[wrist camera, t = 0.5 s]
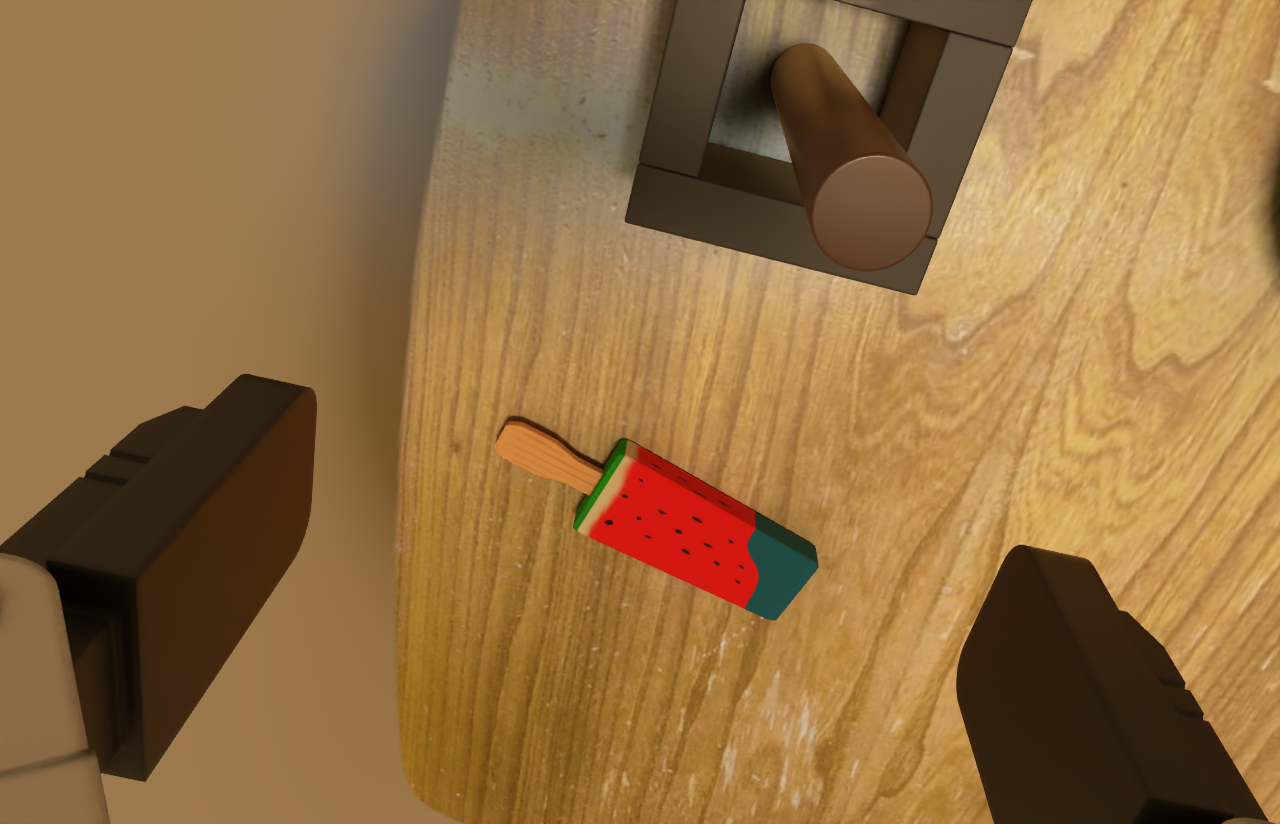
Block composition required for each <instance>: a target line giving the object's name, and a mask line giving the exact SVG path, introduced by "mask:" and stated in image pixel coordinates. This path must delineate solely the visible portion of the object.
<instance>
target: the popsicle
mask: <svg viewBox="0 0 1280 824" xmlns="http://www.w3.org/2000/svg"><path fill="white" fill-rule="evenodd" d="M495 449H496V450H497V452H498V453H499V454H500V455H501V457H503V458H504V459H505V460H507V461H509V462H511V463H513V464H515V465H517V466H519V467H521V468H523V469H525V470H527V471H529V472H531V473H533V474H535V475H537V476H541V477H545V478H548V479H552V480H556V481H560V482H563V483H565V484H567V485H569V486H571V487H573V488H575V489H577V490H579V491H581V492H583V493H585V494H587V495H586V496H585V498H584V499H583V501H582V503H581V504H580V506H579V507H578V509H577V512H576V516H575V520H574V524H573V528H574V529H575V530H576V531H578V532H579V533H581V534H583V535H585V536H587V537H590V538H592V539H594V540H596V541H598V542H601V543H603V544H605V545H607V546H609V547H611V548H614V549H616V550H618V551H620V552H622V553H624V554H627V555H629V556H631V557H633V558H635V559H637V560H640V561H642V562H644V563H646V564H648V565H651V566H653V567H655V568H657V569H659V570H661V571H664V572H666V573H668V574H670V575H672V576H674V577H677V578H679V579H681V580H683V581H685V582H687V583H690V584H692V585H694V586H696V587H698V588H700V589H703V590H705V591H707V592H709V593H711V594H714V595H716V596H718V597H720V598H722V599H724V600H727V601H729V602H731V603H733V604H735V605H737V606H740V607H742V608H744V609H746V610H748V611H750V612H753V613H755V614H757V615H759V616H761V617H763V618H766V619H769V620H777V618H778V617H779V616H780V615H781V614H782V612H783V611H784V610H785V609H786V607H787V606H788V605H789V604H790V602H791V601H792V600H793V599H794V597H795V596H796V595H797V594H798V592H799V591H800V590H801V589H802V588H803V586H804V585H805V584H806V583H807V581H808V580H809V579H810V578H811V576H812V575H813V574H814V573H815V571H816V570H817V569H818V559H817V552H816V548H815V547H814V545H812V544H811V543H809V542H808V541H806V540H804V539H802V538H801V537H799V536H797V535H795V534H794V533H792V532H790V531H788V530H787V529H785V528H783V527H781V526H780V525H778V524H776V523H774V522H773V521H771V520H769V519H767V518H765V517H764V516H762V515H760V514H758V513H757V512H755V511H753V510H751V509H750V508H748V507H746V506H744V505H743V504H741V503H739V502H737V501H736V500H734V499H732V498H730V497H728V496H727V495H725V494H723V493H721V492H720V491H718V490H716V489H714V488H713V487H711V486H709V485H707V484H706V483H704V482H702V481H700V480H699V479H697V478H695V477H693V476H692V475H690V474H688V473H686V472H684V471H683V470H681V469H679V468H677V467H676V466H674V465H672V464H670V463H669V462H667V461H665V460H663V459H662V458H660V457H658V456H656V455H655V454H653V453H651V452H649V451H647V450H646V449H644V448H642V447H640V446H639V445H637V444H635V443H633V442H631V441H629V440H626V439H622V440H621V441H620V442H619V444H618V445H617V447H616V449H615V450H614V452H613V453H612V455H611V457H610V458H609V460H608V461H607V463H606V464H605V466H604V468H603V469H600V468H598V467H596V466H594V465H592V464H590V463H588V462H586V461H584V460H583V459H581V458H579V457H577V456H576V455H575V454H573V453H572V452H571V451H570V450H569V449H567V448H566V447H565V446H564V445H563V444H562V443H560V442H559V441H558V440H557V439H555V438H553V437H551V436H549V435H547V434H545V433H543V432H541V431H539V430H537V429H535V428H533V427H531V426H529V425H528V424H526V423H523V422H515V421H509V422H507V424H506V425H505V427H504V429H503V431H502V433H501V434H500V436H499V438H498V440H497V442H496V444H495Z"/></svg>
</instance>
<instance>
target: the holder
mask: <svg viewBox="0 0 1280 824" xmlns="http://www.w3.org/2000/svg"><path fill="white" fill-rule="evenodd" d="M834 1H838V2H842V3H846V4H849V5H853V6H857V7H861V8H865V9H868V10H872V11H876V12H880V13H884V14H887V15H891V16H895V17H899V18H903V19H906V20H910V21H911V24H910V27H909V30H908V33H907V36H906V39H905V41H904V44H903V47H902V50H901V53H900V56H899V59H898V62H897V65H896V68H895V71H894V74H893V77H892V80H891V83H890V85H889V88H888V91H887V94H886V97H885V100H884V103H883V106H882V109H881V112H880V115H879V118H880V120H881V121H882V122H883V123H884V125H885V126H886V127H887V129H888V130H889V131H890V132H891V134H892V135H893V136H894V138H895V139H896V140H897V141H898V143H899V144H900V145H901V147H902V148H903V149H904V151H905V152H906V153H907V154H908V156H909V157H910V158H911V160H912V161H913V162H914V163H915V165H916V166H917V167H918V169H919V170H920V171H921V172H922V174H923V175H924V177H925V178H926V180H927V182H928V184H929V186H930V189H931V193H932V197H933V216H932V221H931V225H930V228H929V230H928V232H927V234H926V236H925V238H924V240H923V241H922V243H921V244H920V245H919V247H918V248H917V249H916V250H915V251H914V252H913V253H912V254H911V255H910V256H908V257H907V258H906V259H904V260H903V261H901V262H900V263H898V264H896V265H894V266H891V267H889V268H886V269H883V270H878V271H869V272H864V271H855V270H850V269H847V268H844V267H842V266H840V265H838V264H836V263H834V262H833V261H831V260H830V259H829V258H828V257H827V256H825V255H824V253H823V252H822V251H821V250H820V249H819V247H818V246H817V244H816V242H815V240H814V238H813V235H812V232H811V229H810V225H809V221H808V218H807V214H806V211H805V207H804V203H803V200H802V196H801V193H800V189H799V185H798V182H797V178H796V175H795V171H794V167H793V164H790V163H786V162H782V161H778V160H774V159H771V158H767V157H763V156H759V155H755V154H751V153H747V152H743V151H739V150H735V149H732V148H728V147H724V146H720V145H716V144H712V143H708V141H709V137H710V133H711V129H712V125H713V122H714V118H715V114H716V110H717V106H718V103H719V99H720V95H721V91H722V88H723V84H724V80H725V76H726V72H727V69H728V65H729V61H730V57H731V53H732V50H733V46H734V42H735V38H736V34H737V31H738V27H739V23H740V19H741V16H742V12H743V8H744V4H745V0H676V1H675V5H674V10H673V14H672V18H671V22H670V27H669V31H668V35H667V40H666V44H665V48H664V53H663V57H662V61H661V65H660V70H659V74H658V78H657V83H656V87H655V91H654V96H653V100H652V104H651V108H650V113H649V117H648V121H647V126H646V130H645V134H644V138H643V143H642V147H641V151H640V156H639V162H638V165H637V169H636V173H635V177H634V181H633V186H632V190H631V194H630V199H629V203H628V207H627V212H626V216H625V222H626V223H629V224H633V225H637V226H641V227H645V228H649V229H653V230H657V231H661V232H665V233H669V234H673V235H677V236H681V237H685V238H689V239H693V240H697V241H701V242H705V243H709V244H713V245H717V246H721V247H724V248H728V249H732V250H736V251H740V252H744V253H748V254H752V255H756V256H760V257H764V258H768V259H772V260H776V261H780V262H784V263H788V264H792V265H796V266H800V267H804V268H808V269H812V270H816V271H820V272H824V273H827V274H831V275H835V276H839V277H843V278H847V279H851V280H855V281H859V282H863V283H867V284H871V285H875V286H879V287H883V288H887V289H891V290H895V291H899V292H903V293H907V294H911V295H917V293H918V291H919V288H920V286H921V283H922V281H923V278H924V275H925V273H926V270H927V268H928V265H929V263H930V260H931V258H932V255H933V252H934V250H935V247H936V245H937V242H938V240H937V239H938V238H939V237H940V235H941V232H942V230H943V227H944V225H945V222H946V220H947V217H948V214H949V212H950V209H951V207H952V204H953V202H954V199H955V197H956V194H957V191H958V189H959V186H960V184H961V181H962V179H963V176H964V174H965V171H966V168H967V166H968V163H969V161H970V158H971V156H972V153H973V151H974V148H975V145H976V143H977V140H978V138H979V135H980V133H981V130H982V128H983V125H984V122H985V120H986V117H987V115H988V112H989V110H990V107H991V105H992V102H993V99H994V97H995V94H996V92H997V89H998V87H999V84H1000V82H1001V79H1002V77H1003V74H1004V71H1005V69H1006V66H1007V64H1008V61H1009V59H1010V56H1011V54H1012V51H1013V48H1012V47H1014V46H1015V44H1016V42H1017V39H1018V36H1019V34H1020V31H1021V29H1022V26H1023V24H1024V21H1025V19H1026V16H1027V13H1028V11H1029V8H1030V6H1031V3H1032V1H1033V0H834Z"/></svg>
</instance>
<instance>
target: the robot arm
mask: <svg viewBox="0 0 1280 824" xmlns="http://www.w3.org/2000/svg"><path fill="white" fill-rule="evenodd" d="M316 415H317V402H316V395H315V392H314V391H313V389H312V388H309V387H305V386H300V385H295V384H291V383H286V382H281V381H277V380H273V379H268V378H263V377H259V376H254V375H250V374H243V375H240V376H239V377H238V378H237V379H235V380H234V381H233V382H232V383H231V384H230V385H229V386H228V387H227V388H226V389H225V390H224V391H223V392H222V393H221V394H220V395H219V396H217V397H216V399H214V400H213V401H212V402H211V403H210V404H209V405H208V406H207V407H206V408H205V409H204V410H202V409H197V408H193V407H188V406H183V407H181V408H178V409H176V410H173V411H171V412H168V413H166V414H163V415H161V416H158V417H156V418H153V419H151V420H149V421H146V422H144V423H141V424H140V425H138V426H137V427H136V428H135V429H134V430H133V431H132V432H130V433H129V434H128V435H127V436H126V437H125V438H124V439H122V440H121V441H120V442H119V443H118V444H117V445H116V446H115V447H113V448H112V449H111V452H110V455H109V456H107V455H104V456H103V457H102V458H101V459H100V460H98V461H97V462H96V463H95V464H94V465H93V466H91V467H90V468H89V469H88V470H87V471H86V474H85V477H84V478H82V477H79V478H78V479H77V480H75V481H74V482H73V483H72V484H71V485H70V486H68V487H67V488H66V489H65V490H64V491H63V492H62V493H60V494H59V495H58V496H57V497H56V498H55V499H53V500H52V501H51V502H50V503H49V504H48V505H47V506H45V507H44V508H43V509H42V510H41V511H40V512H38V513H37V514H36V515H35V516H34V517H33V518H32V519H30V520H29V521H28V522H27V523H26V524H25V525H24V526H23V527H21V528H20V529H19V530H18V531H17V532H15V533H14V534H13V535H12V536H11V537H10V538H9V539H7V540H6V541H5V542H4V543H3V544H2V545H1V546H0V824H110V819H109V814H108V809H107V804H106V799H105V794H104V789H103V784H102V779H101V773H104V774H109V775H114V776H119V777H124V778H128V779H134V780H138V781H143V782H146V780H147V779H148V777H149V776H150V774H151V773H152V771H153V770H154V768H155V767H156V765H157V764H158V762H159V761H160V759H161V758H162V756H163V755H164V753H165V752H166V750H167V749H168V747H169V746H170V744H171V743H172V741H173V740H174V738H175V737H176V735H177V734H178V732H179V731H180V729H181V728H182V726H183V725H184V723H185V722H186V720H187V719H188V717H189V716H190V714H191V713H192V711H193V710H194V708H195V707H196V705H197V704H198V702H199V701H200V699H201V698H202V696H203V695H204V693H205V692H206V690H207V689H208V687H209V686H210V684H211V683H212V681H213V680H214V678H215V677H216V675H217V674H218V672H219V671H220V669H221V668H222V666H223V665H224V663H225V662H226V660H227V659H228V657H229V656H230V654H231V653H232V651H233V650H234V648H235V647H236V645H237V644H238V643H239V641H240V639H241V638H242V636H243V635H244V634H245V632H246V630H247V629H248V628H249V626H250V625H251V623H252V621H253V620H254V619H255V617H256V616H257V614H258V613H259V611H260V609H261V608H262V606H263V605H264V603H265V602H266V601H267V599H268V598H269V596H270V595H271V593H272V592H273V590H274V588H275V587H276V586H277V584H278V583H279V581H280V580H281V578H282V577H283V575H284V574H285V572H286V571H287V569H288V568H289V566H290V565H291V563H292V562H293V560H294V558H295V557H296V555H297V553H298V551H299V549H300V547H301V544H302V541H303V539H304V536H305V533H306V529H307V526H308V522H309V517H310V511H311V503H312V486H313V469H314V451H315V434H316ZM1185 684H1186V683H1185V681H1184V680H1183V678H1182V676H1181V675H1180V673H1179V671H1178V670H1177V668H1176V666H1175V665H1174V663H1173V661H1172V660H1171V658H1170V656H1169V655H1168V653H1167V652H1166V650H1165V648H1164V647H1163V646H1162V645H1161V644H1160V643H1159V642H1158V641H1157V640H1156V639H1155V638H1154V637H1153V636H1152V635H1151V634H1150V633H1149V632H1148V631H1146V630H1145V629H1144V628H1143V627H1142V626H1141V625H1140V624H1139V623H1138V622H1137V621H1136V620H1135V619H1134V618H1133V617H1132V616H1131V615H1130V614H1129V613H1128V612H1125V611H1120V610H1118V608H1117V606H1116V604H1115V602H1114V601H1113V599H1112V597H1111V595H1110V594H1109V592H1108V590H1107V588H1106V587H1105V585H1104V583H1103V581H1102V580H1101V578H1100V576H1099V574H1098V573H1097V571H1096V569H1095V567H1094V566H1093V564H1092V563H1091V562H1090V561H1089V560H1087V559H1085V558H1081V557H1077V556H1072V555H1067V554H1063V553H1058V552H1054V551H1049V550H1045V549H1040V548H1035V547H1031V546H1026V545H1018V546H1015V547H1014V548H1013V549H1012V550H1011V551H1010V552H1009V553H1008V554H1007V556H1006V557H1005V559H1004V561H1003V563H1002V565H1001V567H1000V569H999V571H998V574H997V576H996V578H995V580H994V582H993V584H992V586H991V589H990V591H989V593H988V595H987V597H986V599H985V601H984V604H983V606H982V608H981V610H980V612H979V614H978V616H977V618H976V621H975V623H974V625H973V627H972V629H971V631H970V633H969V636H968V638H967V640H966V642H965V644H964V647H963V649H962V652H961V655H960V659H959V663H958V669H957V679H956V689H957V699H958V703H959V707H960V710H961V714H962V717H963V721H964V724H965V727H966V731H967V734H968V737H969V741H970V744H971V747H972V751H973V754H974V757H975V761H976V764H977V768H978V771H979V774H980V778H981V781H982V784H983V788H984V791H985V794H986V798H987V801H988V804H989V808H990V811H991V815H992V818H993V821H994V824H1275V823H1272V822H1269V821H1268V819H1267V818H1266V816H1265V814H1264V813H1263V811H1262V809H1261V808H1260V806H1259V804H1258V803H1257V801H1256V799H1255V798H1254V796H1253V794H1252V793H1251V791H1250V789H1249V788H1248V786H1247V784H1246V783H1245V781H1244V779H1243V778H1242V776H1241V774H1240V773H1239V771H1238V769H1237V768H1236V766H1235V764H1234V763H1233V761H1232V760H1231V758H1230V756H1229V755H1228V753H1227V751H1226V750H1225V748H1224V746H1223V745H1222V743H1221V741H1220V740H1219V738H1218V736H1217V735H1216V733H1215V731H1214V730H1213V728H1212V726H1211V725H1210V723H1209V722H1208V721H1204V720H1203V715H1204V713H1203V711H1202V710H1201V708H1200V706H1199V705H1198V703H1197V701H1196V700H1195V698H1194V696H1193V695H1192V693H1191V691H1189V690H1185Z"/></svg>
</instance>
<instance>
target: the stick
mask: <svg viewBox="0 0 1280 824" xmlns="http://www.w3.org/2000/svg"><path fill="white" fill-rule="evenodd" d="M771 88H772V92H773V96H774V99H775V103H776V106H777V110H778V114H779V117H780V121H781V124H782V128H783V132H784V135H785V139H786V142H787V146H788V149H789V153H790V157H791V160H792V164H793V167H794V171H795V175H796V178H797V182H798V185H799V189H800V193H801V196H802V200H803V203H804V207H805V211H806V214H807V218H808V221H809V225H810V229H811V232H812V235H813V238H814V240H815V242H816V244H817V246H818V247H819V249H820V250H821V251H822V252H823V253H824V255H825V256H827V257H828V258H829V259H830V260H831V261H833V262H834V263H836V264H838V265H840V266H842V267H844V268H847V269H850V270H855V271H864V272H869V271H878V270H883V269H886V268H889V267H891V266H894V265H896V264H898V263H900V262H901V261H903V260H904V259H906V258H907V257H908V256H910V255H911V254H912V253H913V252H914V251H915V250H916V249H917V248H918V247H919V245H920V244H921V243H922V241H923V240H924V238H925V236H926V234H927V232H928V230H929V228H930V225H931V221H932V216H933V197H932V193H931V189H930V186H929V184H928V182H927V180H926V178H925V177H924V175H923V174H922V172H921V171H920V170H919V169H918V167H917V166H916V165H915V163H914V162H913V161H912V160H911V158H910V157H909V156H908V154H907V153H906V152H905V151H904V149H903V148H902V147H901V145H900V144H899V143H898V141H897V140H896V139H895V138H894V136H893V135H892V134H891V132H890V131H889V130H888V129H887V127H886V126H885V125H884V123H883V122H882V121H881V120H880V118H879V117H878V116H877V114H876V113H875V112H874V110H873V109H872V108H871V107H870V105H869V104H868V103H867V101H866V100H865V99H864V98H863V96H862V95H861V94H860V92H859V91H858V90H857V88H856V87H855V86H854V85H853V83H852V82H851V81H850V79H849V78H848V77H847V76H846V74H845V73H844V72H843V70H842V69H841V68H840V67H839V65H838V64H837V63H836V61H835V60H834V59H833V57H832V56H831V55H830V54H829V53H828V52H827V51H826V50H825V49H823V48H821V47H819V46H817V45H813V44H800V45H796V46H794V47H792V48H790V49H788V50H787V51H785V52H784V53H783V54H782V55H781V56H780V57H779V58H778V60H777V61H776V63H775V65H774V67H773V70H772V74H771Z"/></svg>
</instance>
